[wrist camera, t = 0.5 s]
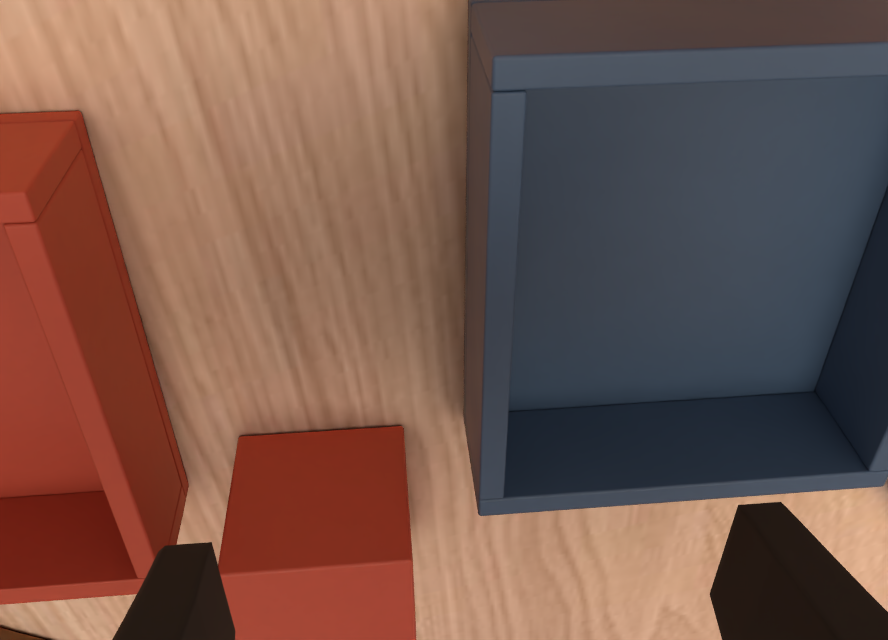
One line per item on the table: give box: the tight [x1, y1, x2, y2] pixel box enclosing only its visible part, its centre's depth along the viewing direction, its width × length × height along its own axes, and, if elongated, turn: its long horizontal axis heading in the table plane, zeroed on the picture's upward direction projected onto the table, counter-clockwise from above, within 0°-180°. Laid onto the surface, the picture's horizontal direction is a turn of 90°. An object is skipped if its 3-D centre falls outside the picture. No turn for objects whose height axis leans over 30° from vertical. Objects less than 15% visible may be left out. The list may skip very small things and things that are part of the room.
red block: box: [218, 426, 416, 640], centre depth 22 cm, size 4×4×4 cm
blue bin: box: [463, 0, 888, 516], centre depth 18 cm, size 11×10×4 cm
